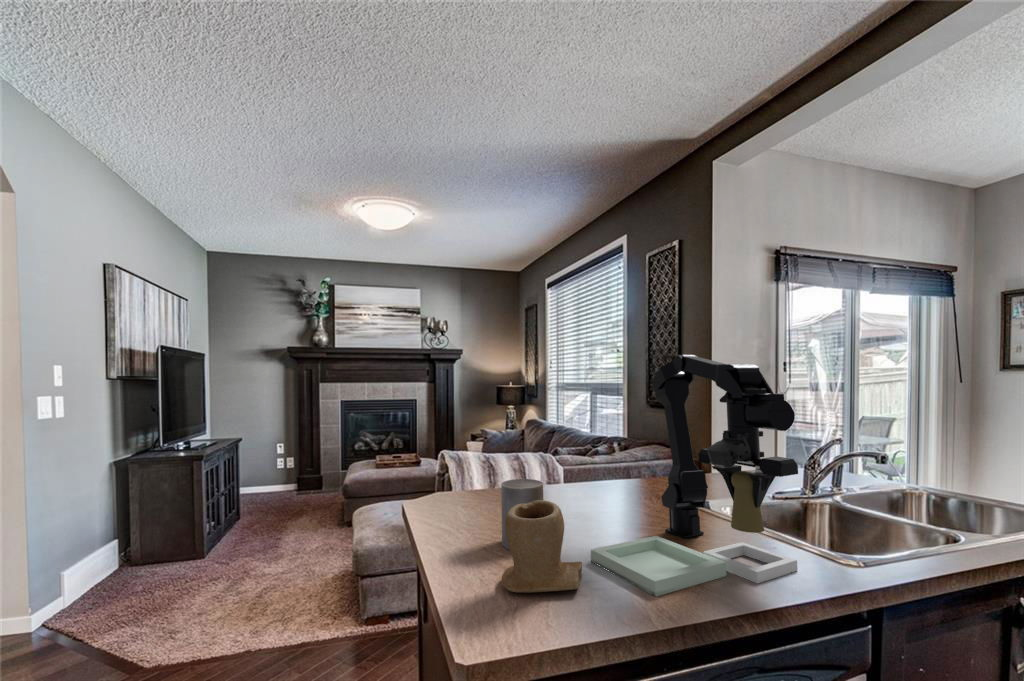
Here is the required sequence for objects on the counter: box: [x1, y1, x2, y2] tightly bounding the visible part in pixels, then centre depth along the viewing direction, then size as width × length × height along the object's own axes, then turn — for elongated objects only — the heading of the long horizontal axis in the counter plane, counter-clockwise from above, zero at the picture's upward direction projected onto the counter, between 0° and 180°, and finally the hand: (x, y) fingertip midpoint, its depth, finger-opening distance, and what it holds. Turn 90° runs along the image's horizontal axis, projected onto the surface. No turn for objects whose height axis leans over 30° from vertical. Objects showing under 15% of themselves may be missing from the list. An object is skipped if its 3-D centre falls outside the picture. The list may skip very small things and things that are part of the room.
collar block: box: [702, 541, 798, 584], centre depth 96 cm, size 12×12×2 cm
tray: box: [590, 535, 727, 597], centre depth 95 cm, size 18×18×2 cm
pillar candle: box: [500, 477, 545, 551], centre depth 110 cm, size 10×10×15 cm
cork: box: [730, 470, 765, 534], centre depth 97 cm, size 6×6×11 cm
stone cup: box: [501, 500, 583, 594], centre depth 87 cm, size 15×12×15 cm
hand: (746, 504), depth 97 cm, fingers closed on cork, 4 cm apart
